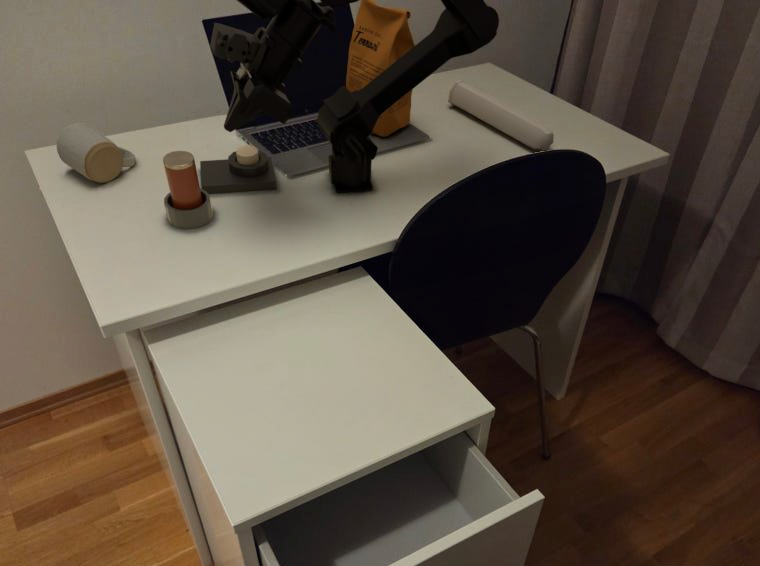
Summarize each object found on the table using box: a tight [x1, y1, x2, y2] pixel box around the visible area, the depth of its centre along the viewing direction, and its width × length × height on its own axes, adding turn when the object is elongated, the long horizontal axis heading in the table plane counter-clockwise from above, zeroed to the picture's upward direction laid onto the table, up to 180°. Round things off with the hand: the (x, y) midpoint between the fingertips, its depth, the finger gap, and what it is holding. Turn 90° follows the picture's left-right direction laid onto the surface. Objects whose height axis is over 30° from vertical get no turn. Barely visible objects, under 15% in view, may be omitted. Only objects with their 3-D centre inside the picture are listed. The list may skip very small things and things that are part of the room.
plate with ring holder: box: [199, 149, 277, 195], centre depth 107 cm, size 12×8×4 cm
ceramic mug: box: [56, 122, 136, 184], centre depth 105 cm, size 11×8×8 cm
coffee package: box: [345, 0, 416, 138], centre depth 118 cm, size 10×12×22 cm
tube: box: [447, 79, 555, 153], centre depth 126 cm, size 5×5×25 cm
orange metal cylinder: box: [162, 150, 203, 210], centre depth 97 cm, size 4×4×10 cm
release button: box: [235, 145, 259, 165], centre depth 107 cm, size 4×4×2 cm
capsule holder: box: [163, 188, 214, 230], centre depth 99 cm, size 7×7×4 cm
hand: (226, 129), depth 95 cm, fingers closed
